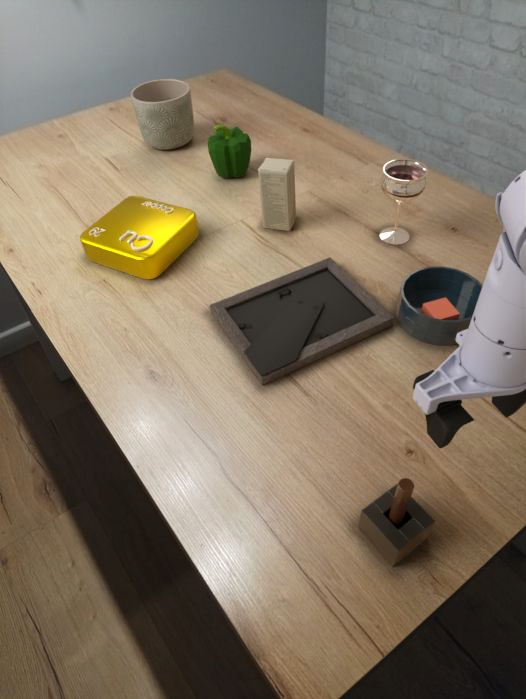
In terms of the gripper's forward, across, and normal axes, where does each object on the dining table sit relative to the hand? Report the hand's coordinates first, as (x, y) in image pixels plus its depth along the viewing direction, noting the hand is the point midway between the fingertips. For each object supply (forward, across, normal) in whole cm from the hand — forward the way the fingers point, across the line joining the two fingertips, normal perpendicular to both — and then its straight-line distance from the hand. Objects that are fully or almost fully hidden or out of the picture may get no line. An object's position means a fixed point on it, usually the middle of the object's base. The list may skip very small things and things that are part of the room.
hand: (469, 423), depth 49 cm
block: (+10, -13, -19) cm, 25 cm away
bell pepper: (+10, -4, -73) cm, 74 cm away
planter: (+10, +2, -93) cm, 94 cm away
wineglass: (+10, -20, -40) cm, 46 cm away
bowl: (+10, -15, -21) cm, 28 cm away
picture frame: (+10, +3, -30) cm, 32 cm away
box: (+10, -5, -53) cm, 54 cm away
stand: (+10, +9, +3) cm, 14 cm away
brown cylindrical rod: (+10, +9, +2) cm, 14 cm away
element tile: (+10, +18, -58) cm, 62 cm away
